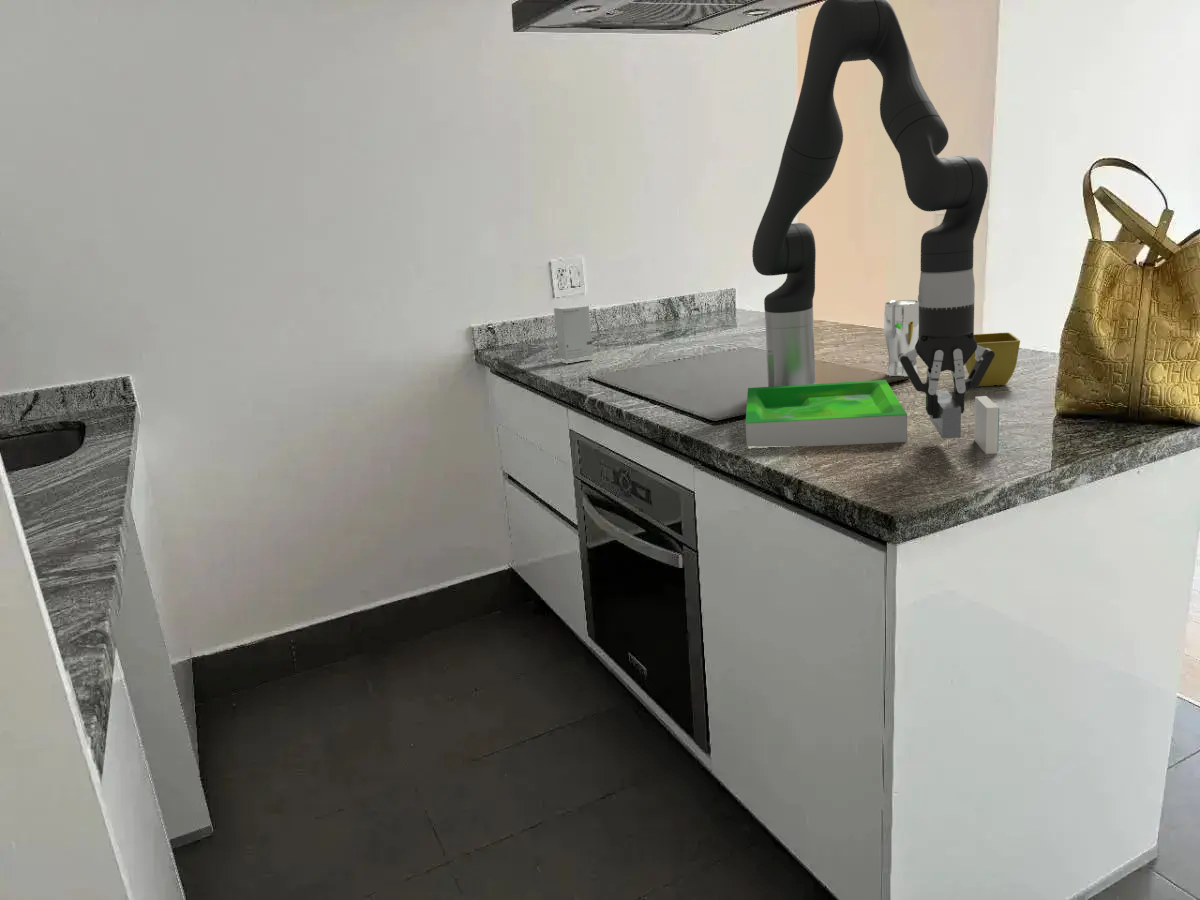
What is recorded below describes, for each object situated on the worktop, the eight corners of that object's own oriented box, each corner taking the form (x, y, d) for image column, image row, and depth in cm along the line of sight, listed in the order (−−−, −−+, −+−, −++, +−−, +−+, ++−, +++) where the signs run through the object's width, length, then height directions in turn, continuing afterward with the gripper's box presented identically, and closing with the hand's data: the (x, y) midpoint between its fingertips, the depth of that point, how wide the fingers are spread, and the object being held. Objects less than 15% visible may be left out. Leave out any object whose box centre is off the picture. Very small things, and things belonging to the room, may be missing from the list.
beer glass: (921, 370, 183) (921, 299, 179) (917, 377, 177) (917, 304, 173) (886, 370, 186) (886, 300, 182) (882, 378, 180) (881, 305, 176)
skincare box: (566, 365, 231) (559, 309, 227) (558, 362, 236) (552, 307, 232) (595, 360, 234) (589, 304, 229) (586, 357, 239) (581, 303, 235)
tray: (907, 444, 137) (907, 414, 136) (747, 452, 142) (745, 422, 141) (886, 406, 161) (885, 379, 159) (749, 413, 165) (747, 388, 164)
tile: (985, 454, 128) (986, 408, 126) (974, 440, 134) (975, 396, 132) (998, 453, 127) (999, 407, 125) (986, 440, 134) (987, 395, 132)
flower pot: (1019, 387, 161) (1021, 339, 159) (969, 390, 163) (970, 343, 161) (1008, 377, 170) (1009, 332, 167) (960, 380, 172) (961, 335, 169)
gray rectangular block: (942, 438, 126) (942, 408, 125) (929, 419, 136) (930, 391, 134) (960, 437, 126) (961, 407, 125) (946, 418, 135) (947, 390, 134)
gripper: (899, 309, 123) (900, 426, 128) (1004, 301, 121) (1000, 421, 125) (892, 302, 130) (892, 413, 135) (991, 294, 128) (988, 408, 133)
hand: (944, 416), depth 130 cm, fingers closed on gray rectangular block, 2 cm apart
